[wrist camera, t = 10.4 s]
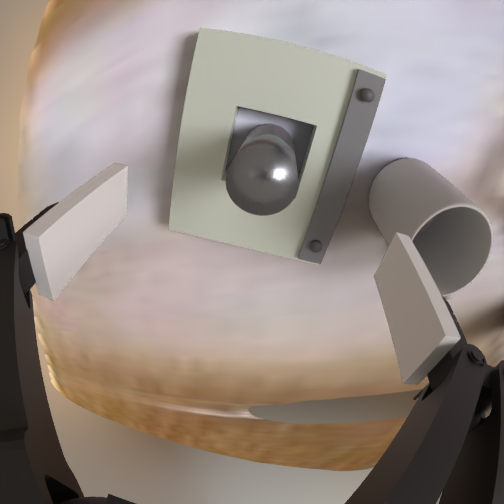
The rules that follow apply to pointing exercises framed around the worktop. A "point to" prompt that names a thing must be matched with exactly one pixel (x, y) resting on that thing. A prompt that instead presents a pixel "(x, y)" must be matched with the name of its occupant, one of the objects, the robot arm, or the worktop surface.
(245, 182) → the grey metal cylinder
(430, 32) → the worktop surface
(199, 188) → the plate
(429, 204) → the mug
